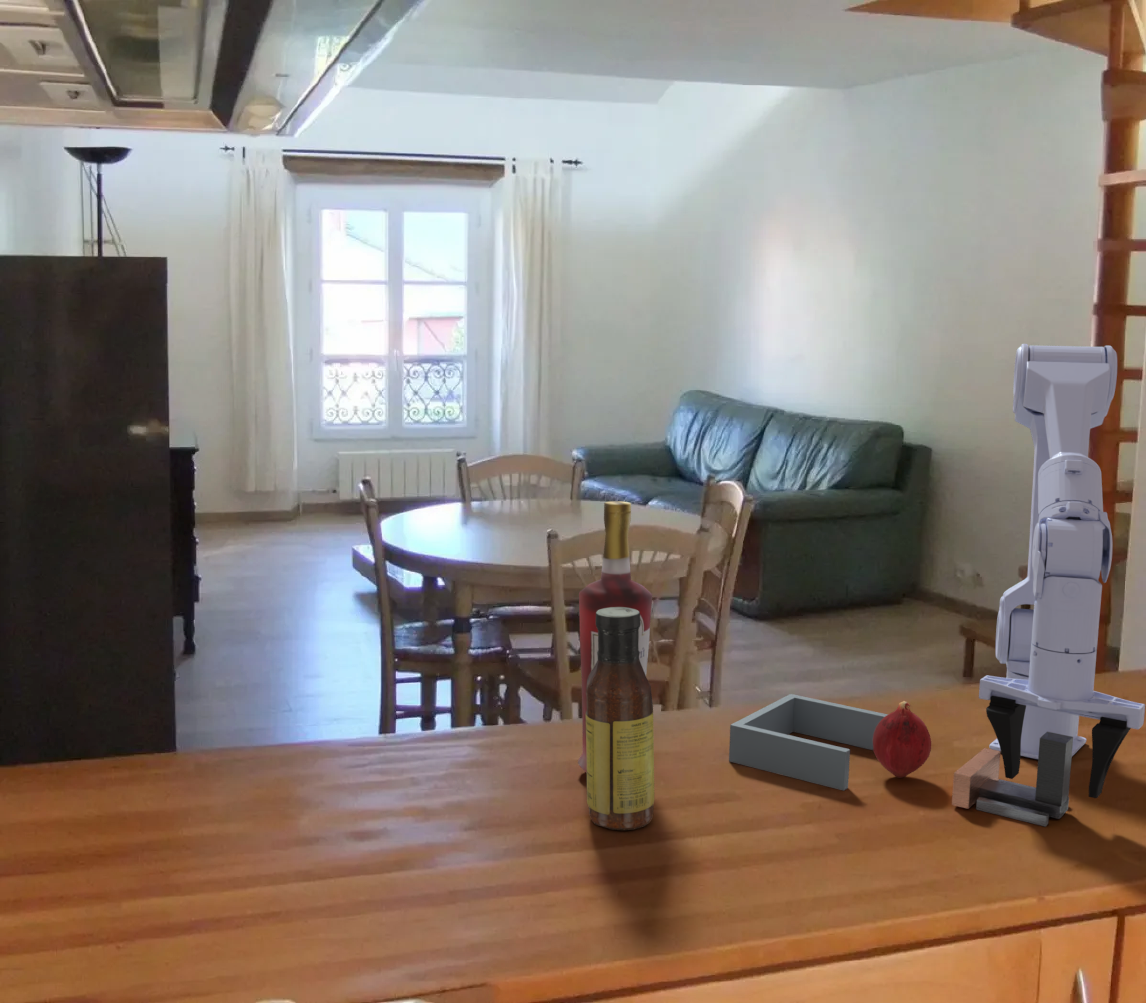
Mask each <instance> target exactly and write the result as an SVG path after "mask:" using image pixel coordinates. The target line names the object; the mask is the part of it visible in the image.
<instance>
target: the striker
mask: <svg viewBox="0 0 1146 1003" xmlns="http://www.w3.org/2000/svg"><path fill="white" fill-rule="evenodd" d="M1072 745H1073V737H1071V736H1066V735H1061V734H1057V733H1052V732H1046V733H1045V734H1044V735H1043V736H1042V737H1041V738H1040V742H1039V756H1038V759H1037V773H1036V784H1035V787H1036V790H1035V789H1031V788H1027V787H1022V786H1018V785H1014V784H1010V783H1005V782H1001V781H998V780H999V776H1000V775H999V774H1000V764H1001V763H1000V761H1001V751H998V750H993V749H990V748H987V747H984V748H983V749H981V750H980V751H978V753H977V754H975V755H974V756H973V757H971V758H970V759H969V760H968V761H967V762H965V763H964V764H963V765H962V766H961V767H959V768H958V769H957V770H955V772H954V773H953V780H952V781H953V782H952V783H953V784H952V798H951V806H955V807H959V808H963V809H966V810H967V809H968V810H969V809H970V808H971V807H972V806H973V805H974V804H976V803H977V799H978V798H979V797H982V798H986V799H990V800H994V801H998V802H1002V803H1006V804H1011V805H1015V806H1019V807H1023V808H1027V809H1031V810H1035V811H1040V812H1044V813H1048V814H1049V818H1053V819H1057V820H1060V819H1061V818H1063V816H1064V814H1065V813H1067V811H1068V810H1069V802H1070V797H1069V793H1070V781H1071V779H1070V778H1071V767H1072V757H1073V756H1072Z"/></svg>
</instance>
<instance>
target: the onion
mask: <svg viewBox="0 0 1146 1003" xmlns="http://www.w3.org/2000/svg"><path fill="white" fill-rule="evenodd" d="M931 738H932V737H931V735H930V732H929V730H928V728H927V726H926V724H925V723H924V721H923V720H922V718H920V717H919V715H917V714H916V713H914V712H913V711H912V710H911V704H910V703H909V702H908V701H905V700H902V701H900V702H899V703H898V707H897V708H896V709H895V710H894V711H892V712H890V713H888V715H887V716H885V717H884V718H883V719H882V720H881V721H880V722H879V723H878V725H877V726H876V728H875V731H874V734H873V750H872V751H873V753H874V755H875V757H876V760H877V761H878V762H879V764H880V765H881V766H882V767H883V768H884V769H885V770H886V771H888V772H889V773H890V774H892V776H894V777H895V778H898V779H902V778H903V779H904V778H905V777H906V776H908V775H910V774H912V773H914V772H915V771H917V770H918V769H920V768H921V767H922V766H923V765H924V764H925V763H926V761H927V760H928V759H929V757H930V754H931V752H932V739H931Z"/></svg>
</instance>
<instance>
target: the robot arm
mask: <svg viewBox="0 0 1146 1003" xmlns="http://www.w3.org/2000/svg"><path fill="white" fill-rule="evenodd" d="M1015 352H1016V353H1015V358H1014V359H1015V360H1014V371H1013V388H1012V389H1013V390H1012V391H1013V397H1012V398H1013V400H1012V402H1013V403H1012V413H1013V414H1014V422H1016V423H1018V424H1020V425H1021V426H1024V427H1025V428H1028V429H1029V430H1030V434H1031V439H1032V442H1033V450H1034V453H1033V454H1034V456H1033V470H1032V471H1033V472H1032V473H1033V474H1032V490H1031V503H1030V504H1031V507H1030V509H1031V510H1030V523H1029V524H1030V526H1029V543H1028V558H1027V559H1028V561H1027V575H1026V577H1025V578H1024V579H1023V580H1021V581H1019V582H1018V583H1015V584H1014V585H1013V586H1011V587H1009V588H1008V589H1006V590H1005V591H1004V592H1003V594H1002V596H1001V597H1000V599H999V608H998V613H997V619H996V630H995V631H996V632H995V658H996V659H997V661H999V663H1000V664H1005V665H1006V677H1002V676H1001V677H1000V676H996V675H995V676H994V675H987V674H986V675H985V676H982V678H980V680H979V686H978V687H979V688H978V690H979V692H978V699H980V700H986V701H989V703H988V704H989V705H988V706H987V707H986V708H985V709H986V710H985V711H986V713H985V714H986V717H987V719H988V722H989V723H990V724H991V727H992V728H993V731H994V734H995V736H996V738H995V739H994V740H993V741H992V742H991V743H990V744H989V748H988V749H992V750H997V751H1000V754H1001V757H1002V762H1003V767H1004V778H1006V779H1010V780H1013V779H1014V778H1015V777H1016V776H1018V775H1019V774H1020V767H1021V757H1025V758H1030V759H1034V760H1038V756H1039V742H1040V738H1041V737H1042V736H1043V735H1044V734H1045V733H1046V732H1052V733H1057V734H1061V735H1066V736H1071V737H1073V745H1072V757H1073V756H1074V755H1075V754H1076V753H1077V752H1078V751H1079V750H1080V749H1081V748H1082V747H1083V746H1084V745H1086V743H1087V738H1086V737H1083V736H1081V735H1080V736H1079V735H1078V733H1079V723H1080V722H1079V720H1080V717H1083V718H1088V719H1093V720H1099V722H1097V723H1096V724H1095V725H1094V726H1093V727H1092V728H1091V743H1092V748H1091V749H1092V751H1091V752H1092V754H1091V756H1092V757H1091V759H1092V761H1091V769H1090V770H1091V771H1090V777H1089V783H1088V784H1089V785H1088V797H1089V798H1093V799H1098V798H1099V796H1100V795H1101V794H1102V793H1103V787H1104V783H1105V780H1106V776H1107V773H1108V771H1109V770H1110V766H1111V764H1112V762H1113V760H1114V758H1115V755H1116V754H1117V751H1118V750H1119V748H1120V746H1121V745H1122V743H1123V741H1124V740H1125V738H1126V736H1127V735H1128V733H1129V732H1130V731H1131V729H1134V730H1139V729H1140V728H1142V727H1143V725H1144V722H1145V711H1146V704H1145V703H1139V702H1136V701H1132V700H1131V701H1130V700H1128V699H1123V698H1121V697H1117V696H1113V695H1110V694H1107V693H1103V692H1099V691H1096V690H1094V689H1095V688H1094V686H1095V676H1096V675H1095V674H1096V662H1097V652H1098V651H1097V650H1098V638H1099V626H1100V614H1101V606H1102V605H1101V602H1102V593H1103V592H1102V591H1103V584H1102V583H1101V582H1100V581H1099V579H1100V576H1101V579H1102V580H1101V581H1102V582H1103V583H1104V584H1105V583H1107V580H1108V578H1109V575H1110V571H1111V568H1112V567H1111V566H1112V559H1113V535H1112V534H1113V533H1112V529H1111V528H1112V527H1111V523H1110V520H1109V518H1108V513H1107V511H1104V503H1103V501H1104V500H1103V485H1102V483H1103V480H1102V471H1101V467H1100V466H1099V464H1097V462H1096V461H1095V460H1093V459H1092V458H1090V457H1089V446H1090V435H1091V434H1090V432H1091V429H1093V428H1096V427H1100V426H1101V425H1103V424H1104V421H1105V420H1104V419H1105V417H1107V415H1108V413H1109V410H1110V406H1111V404H1112V401H1114V400H1113V399H1114V396H1115V394H1116V393H1115V391H1116V387H1117V376H1118V353H1117V352H1116V350H1115V349H1114V348H1113V346H1111V345H1104V346H1086V345H1085V346H1083V345H1081V346H1079V345H1076V346H1075V345H1039V344H1038V345H1036V344H1034V345H1032V344H1030V345H1029V344H1028V343H1021V345H1020V346H1019V347H1018V348H1017V349H1016V351H1015ZM1021 605H1031V606H1033V605H1034V606H1033V609H1031V608H1019V607H1018V606H1021Z"/></svg>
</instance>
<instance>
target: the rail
mask: <svg viewBox="0 0 1146 1003" xmlns="http://www.w3.org/2000/svg"><path fill="white" fill-rule="evenodd" d="M998 781H1001V782H1005V783H1010V784H1014V785H1018V786H1022V787H1027V788H1031V789H1035V790H1036V786H1035V787H1034V786H1032V785H1031V786H1030V785H1026V784H1022V783H1018V782H1014V781H1010V780H1005V779H1002V778H1000V779H999V778H998ZM975 806H976V807H975V809H976V810H977V811H981V812H985V813H988V814H993V815H997V816H1001V817H1005V818H1010V819H1013V820H1018V821H1021V822H1026V823H1029V824H1034V825H1037V826H1042V827H1045V828H1046V827H1047V826H1048V825H1049V819H1050V817H1049V814H1048V813H1044V812H1040V811H1035V810H1031V809H1027V808H1023V807H1019V806H1015V805H1011V804H1006V803H1002V802H998V801H994V800H990V799H986V798H982V797H979V798H978V799H977V801H976V803H975Z"/></svg>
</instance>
